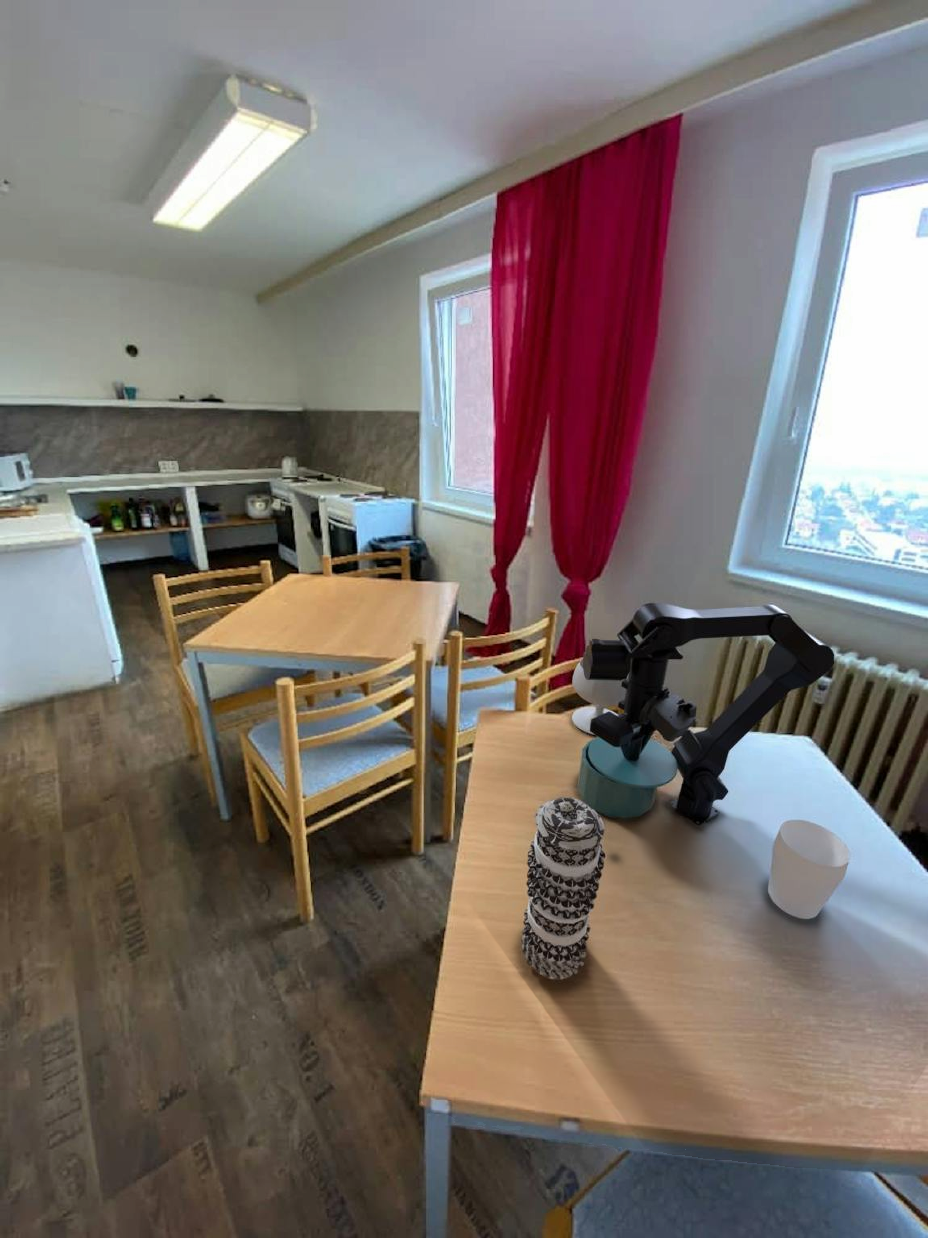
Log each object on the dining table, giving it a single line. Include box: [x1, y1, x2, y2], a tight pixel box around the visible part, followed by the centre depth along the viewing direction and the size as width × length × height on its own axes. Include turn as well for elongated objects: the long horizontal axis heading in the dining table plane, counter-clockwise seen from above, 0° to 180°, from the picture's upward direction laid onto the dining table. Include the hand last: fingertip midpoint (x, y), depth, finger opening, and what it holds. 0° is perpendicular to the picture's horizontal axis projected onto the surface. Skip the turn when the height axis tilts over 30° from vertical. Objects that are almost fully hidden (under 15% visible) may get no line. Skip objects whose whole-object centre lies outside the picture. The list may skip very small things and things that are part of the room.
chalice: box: [571, 658, 629, 736], centre depth 120 cm, size 14×14×15 cm
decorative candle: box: [521, 796, 606, 981], centre depth 66 cm, size 9×9×25 cm
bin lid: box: [588, 731, 679, 788], centre depth 91 cm, size 15×15×6 cm
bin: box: [577, 739, 658, 820], centre depth 99 cm, size 14×14×8 cm
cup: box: [767, 819, 851, 920], centre depth 77 cm, size 9×9×12 cm
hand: (632, 756), depth 92 cm, fingers closed on bin lid, 2 cm apart
